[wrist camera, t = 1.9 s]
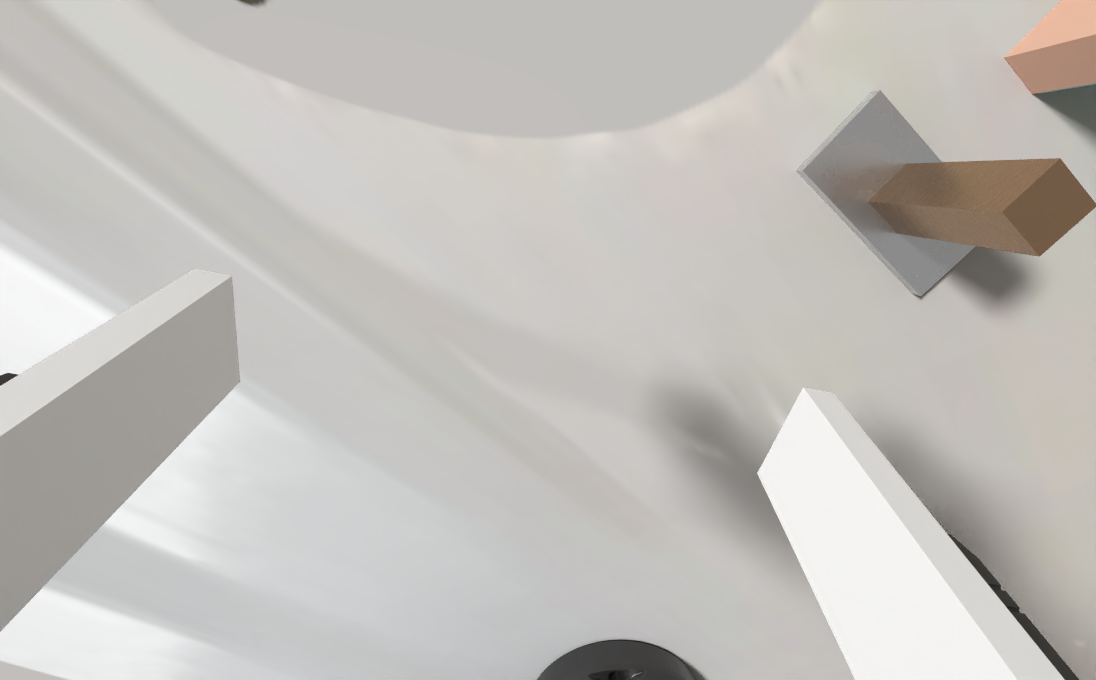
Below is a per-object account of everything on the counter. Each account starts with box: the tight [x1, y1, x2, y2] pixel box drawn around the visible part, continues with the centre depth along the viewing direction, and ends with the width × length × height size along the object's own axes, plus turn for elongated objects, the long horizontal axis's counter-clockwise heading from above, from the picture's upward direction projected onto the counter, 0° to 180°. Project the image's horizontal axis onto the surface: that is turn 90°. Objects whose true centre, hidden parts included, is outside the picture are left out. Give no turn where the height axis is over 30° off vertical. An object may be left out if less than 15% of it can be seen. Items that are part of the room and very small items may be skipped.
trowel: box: [796, 90, 1096, 296], centre depth 29 cm, size 12×6×11 cm, turn 49°
